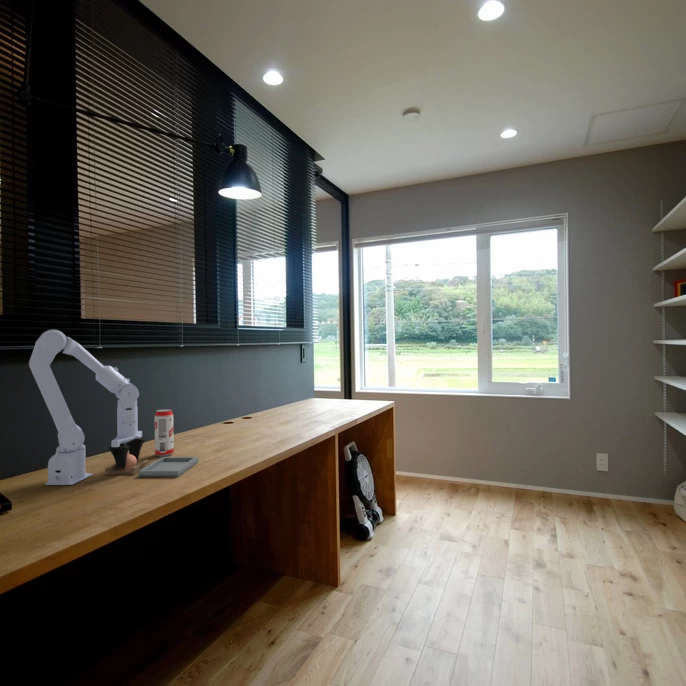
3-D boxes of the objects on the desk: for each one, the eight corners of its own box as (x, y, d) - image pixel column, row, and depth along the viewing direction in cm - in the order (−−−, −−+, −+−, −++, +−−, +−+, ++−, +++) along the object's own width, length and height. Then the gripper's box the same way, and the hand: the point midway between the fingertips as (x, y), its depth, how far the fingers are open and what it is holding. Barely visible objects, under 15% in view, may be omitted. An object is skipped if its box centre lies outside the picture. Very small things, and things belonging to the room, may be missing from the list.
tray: (178, 477, 126) (178, 470, 126) (138, 477, 126) (138, 471, 126) (198, 462, 142) (198, 456, 142) (162, 462, 142) (162, 456, 142)
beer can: (153, 457, 148) (153, 411, 148) (156, 453, 154) (155, 409, 154) (172, 456, 150) (172, 411, 150) (174, 452, 156) (174, 408, 156)
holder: (134, 474, 129) (134, 468, 129) (105, 474, 129) (105, 468, 129) (148, 466, 138) (148, 460, 138) (121, 466, 138) (121, 460, 138)
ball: (131, 472, 131) (131, 456, 131) (115, 472, 131) (115, 456, 131) (139, 468, 136) (139, 452, 136) (124, 468, 136) (124, 452, 136)
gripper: (127, 425, 126) (128, 471, 126) (151, 417, 140) (151, 458, 140) (104, 426, 126) (104, 471, 126) (130, 417, 141) (130, 458, 141)
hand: (127, 464), depth 133 cm, fingers open, 7 cm apart
